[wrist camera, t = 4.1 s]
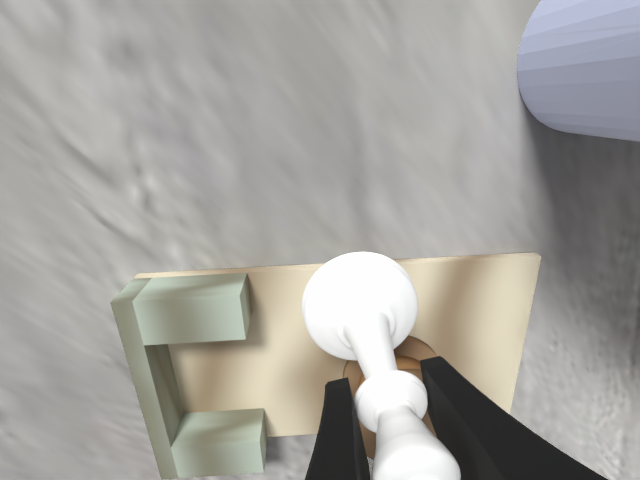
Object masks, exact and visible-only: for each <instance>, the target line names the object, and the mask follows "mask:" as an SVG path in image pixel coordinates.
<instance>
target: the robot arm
mask: <svg viewBox="0 0 640 480" xmlns="http://www.w3.org/2000/svg"><path fill="white" fill-rule="evenodd" d="M517 78H518V86H519V89H520V92H521V95H522V98H523V101H524V103H525V104H526V106H527V108H528V109H529V111H530V112H531V113H532V115H533V116H534V117H535V118H536V119H537V120H538V121H539V122H541V123H543V124H544V125H546V126H548V127H549V128H552V129H555V130H558V131H561V132H567V133H575V134H583V135H590V136H598V137H606V138H614V139H622V140H630V141H637V142H640V0H541V1H540V3H539V4H538V5H537V7H536V9H535V11H534V12H533V14H532V16H531V17H530V19H529V21H528V23H527V26H526V28H525V31H524V33H523V36H522V39H521V43H520V47H519V52H518V59H517ZM420 366H421V373H422V379H423V384H424V386H425V388H426V391H427V400H428V406H427V411H428V415H429V417H430V420H431V423H432V425H433V428H434V431H435V433H436V436H437V438H438V440H440V441H441V442H442V443H443V444H444V446H445V447H446V448H447V449H448V450H449V451H450V452H451V454H452V455H453V456H454V458H455V459H456V461H457V463H458V465H459V468H460V472H461V480H608V479H606V478H604V477H603V476H601V475H599V474H597V473H596V472H594V471H593V470H591V469H589V468H588V467H586V466H584V465H583V464H581V463H579V462H578V461H576V460H574V459H573V458H571V457H570V456H568V455H567V454H565V453H564V452H562V451H560V450H559V449H557V448H556V447H554V446H553V445H551V444H550V443H548V442H547V441H545V440H544V439H542V438H541V437H540V436H538V435H537V434H535V433H534V432H532V431H531V430H530V429H528V428H527V427H526V426H524V425H523V424H522V423H520V422H519V421H517V420H516V419H515V418H513V417H512V416H511V415H509V414H508V413H507V412H506V411H504V410H503V409H502V408H500V407H499V406H498V405H497V404H496V403H494V402H493V401H492V400H491V399H489V398H488V397H487V396H486V395H484V394H483V393H482V392H481V391H480V390H478V389H477V388H476V387H475V386H474V385H473V384H471V383H470V382H469V381H468V380H467V379H466V378H465V377H463V376H462V375H461V374H460V373H459V372H458V371H457V370H456V369H455V368H454V367H453V366H451V365H450V364H449V363H448V362H447V361H446V360H445V359H444V358H443V357H441V356H437V357H433V358H428V359H424V360H420ZM305 480H370V472H369V465H368V460H367V455H366V451H365V446H364V442H363V437H362V432H361V428H360V424H359V420H358V417H357V413H356V409H355V405H354V400H353V396H352V391H351V387H350V383H349V379H348V377H346V378H342V379H338V380H333V381H329V382H327V384H326V385H325V395H324V404H323V410H322V415H321V421H320V425H319V430H318V434H317V438H316V443H315V447H314V451H313V454H312V458H311V461H310V464H309V468H308V471H307V474H306V478H305Z"/></svg>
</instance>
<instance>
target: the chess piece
mask: <svg viewBox="0 0 640 480" xmlns="http://www.w3.org/2000/svg"><path fill="white" fill-rule="evenodd" d="M417 313H418V299H417V294H416V291H415V288H414V285H413V282H412V280H411V278H410V276H409V275H408V273H407V272H406V271H405V270H404V268H403V267H402V266H400V265H399V264H398V263H397V262H395V261H394V260H392V259H390V258H388V257H386V256H384V255H381V254H377V253H372V252H354V253H348V254H344V255H341V256H339V257H336V258H334V259H332V260H330V261H329V262H327V263H326V264H324V265H323V266H322V267H320V268H319V269H318V270H317V271H316V272H315V273H314V275H313V276H312V277H311V279H310V280H309V282H308V284H307V286H306V288H305V290H304V293H303V298H302V315H303V319H304V322H305V325H306V328H307V331H308V333H309V335H310V337H311V338H312V339H313V341H314V342H315V343H316V344H317V345H318V346H319V347H320V348H321V349H323V350H324V351H325V352H327V353H329V354H331V355H333V356H335V357H338V358H341V359H346V360H355V361H358V363H359V365H360V367H361V370H362V372H363V374H364V377H365V379H366V380H365V381H364V382H363V383H362V384H361V385H360V387H359V388H358V390H357V392H356V394H355V397H354V405H355V409H356V413H357V417H358V418H359V420H360V422H361V423H362V424H363V425H364V426H365V427H366V428H367V429H369V430H370V431H372V432H375V433H376V450H375V457H374V461H373V468H372V480H461V472H460V468H459V465H458V463H457V461H456V459H455V458H454V456H453V455H452V454H451V452H450V451H449V450H448V449H447V448H446V447H445V446H444V444H443V443H442V442H441V441H440V440H438V439H437V438H436V437H435V436H434V435H433V434H432V433H431V432H430V430H429V429H428V428H427V426H426V425H425V424H424V422H423V421H422V420H421V419H422V418H423V416H424V415H425V413H426V410H427V406H428V400H427V391H426V388H425V386H424V384H423V383H422V381H421V380H420V379H419V378H418V377H416V376H415V375H413V374H411V373H408V372H405V371H400V370H398V368H397V365H396V360H395V355H394V351H393V349H395V348H396V347H397V346H399V345H400V344H401V343H402V342H403V341H404V340H405V339H406V337H407V336H408V335H409V333H410V332H411V330H412V328H413V326H414V324H415V321H416V318H417Z"/></svg>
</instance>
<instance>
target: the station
mask: <svg viewBox="0 0 640 480" xmlns="http://www.w3.org/2000/svg"><path fill="white" fill-rule="evenodd" d="M394 261H395V262H397V263H398V264H399V265H400V266H402V267H403V268H404V270H405V271H406V272H407V273H408V275H409V276H410V278H411V280H412V282H413V285H414V288H415V291H416V294H417V299H418V313H417V318H416V321H415V324H414V326H413V328H412V330H411V332H410V333H409V335H408V336H407V337H406V339H405V340H404V341H403V342H402V343H401V344H400V345H399V346H397V347H396V348H395V349H393V351H394V355H395V360H396V365H397V368H398V370H400V371H405V372H408V373H411V374H413V375H415V376H416V377H418V378H419V379H420V380H421V381H422V383H423V379H422V373H421V366H420V360H424V359H428V358H433V357H437V356H441V357H443V358H444V359H445V360H446V361H447V362H448V363H449V364H450V365H451V366H453V367H454V368H455V369H456V370H457V371H458V372H459V373H460V374H461V375H462V376H463V377H465V378H466V379H467V380H468V381H469V382H470V383H471V384H473V385H474V386H475V387H476V388H477V389H478V390H480V391H481V392H482V393H483V394H484V395H486V396H487V397H488V398H489V399H491V400H492V401H493V402H494V403H496V404H497V405H498V406H499V407H500V408H502V409H503V410H504V411H506V412H507V413H508V414H510V409H511V404H512V399H513V394H514V390H515V385H516V380H517V375H518V370H519V365H520V360H521V355H522V350H523V345H524V340H525V335H526V331H527V326H528V321H529V316H530V311H531V306H532V301H533V296H534V291H535V286H536V281H537V277H538V272H539V267H540V262H541V256H540V255H538V254H537V253H535V252H532V253H513V254H495V255H476V256H457V257H439V258H420V259H402V260H394ZM323 265H324V264H308V265H290V266H271V267H252V268H234V269H215V270H196V271H178V272H159V273H140V274H137V275H136V276H135V277H134V278H133V279H132V280H131V281H130V282H129V284H128V285H127V286H126V287H125V288H124V289H123V290H122V291H121V292H120V293H119V294H118V295H117V296H116V297H115V298H114V299H113V301H112V302H111V306H112V309H113V313H114V316H115V320H116V323H117V327H118V330H119V334H120V337H121V341H122V344H123V348H124V351H125V354H126V358H127V361H128V365H129V368H130V372H131V375H132V379H133V382H134V386H135V389H136V393H137V396H138V400H139V403H140V406H141V410H142V413H143V417H144V420H145V424H146V427H147V431H148V434H149V438H150V441H151V445H152V448H153V452H154V455H155V458H156V462H157V465H158V469H159V472H160V476H161V479H175V478H190V477H204V476H218V475H233V474H247V473H262V472H264V466H265V456H266V447H267V437H276V436H291V435H306V434H318V430H319V425H320V421H321V415H322V410H323V404H324V395H325V385H326V384H327V382H329V381H333V380H338V379H342V378H346V377H348V379H349V383H350V387H351V391H352V396H353V400H354V397H355V394H356V392H357V390H358V388H359V387H360V385H361V384H362V383H363V382H364V381H365V380H366V379H365V377H364V374H363V372H362V370H361V367H360V365H359V363H358V361H355V360H346V359H341V358H338V357H335V356H333V355H331V354H329V353H327V352H325V351H324V350H323V349H321V348H320V347H319V346H318V345H317V344H316V343H315V342H314V341H313V339H312V338H311V337H310V335H309V333H308V331H307V328H306V325H305V322H304V319H303V315H302V298H303V293H304V290H305V288H306V286H307V284H308V282H309V280H310V279H311V277H312V276H313V275H314V273H315V272H316V271H317V270H318V269H319V268H320V267H322V266H323ZM358 420H359V418H358ZM421 420H422V421H423V422H424V424H425V425H426V426H427V428H428V429H429V430H430V432H431V433H432V434H433V435H434V436H435V437H436V438H437V436H436V433H435V431H434V428H433V425H432V423H431V420H430V417H429V415H428V411H427V410H426V413H425V415H424V416H423V418H422V419H421ZM359 424H360V428H361V432H362V437H363V442H364V446H365V451H366V455H367V456H368V457H369V458H371V459H374V457H375V450H376V433H375V432H372V431H370V430H369V429H367V428H366V427H365V426H364V425H363V424H362V423H361V422H360V420H359ZM437 439H438V438H437Z"/></svg>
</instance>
